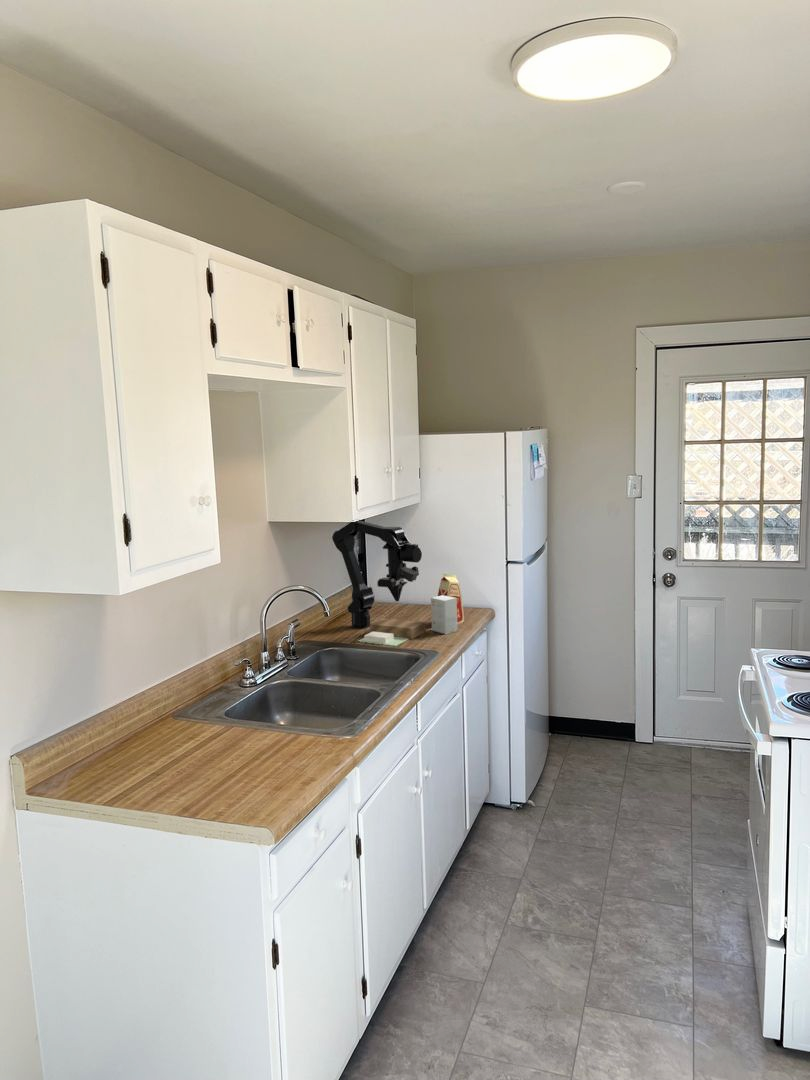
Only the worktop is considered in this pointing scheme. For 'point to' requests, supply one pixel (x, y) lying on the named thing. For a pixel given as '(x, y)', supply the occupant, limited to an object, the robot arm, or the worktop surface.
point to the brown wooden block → (398, 627)
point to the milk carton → (452, 593)
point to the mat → (393, 642)
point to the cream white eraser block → (378, 637)
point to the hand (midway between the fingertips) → (397, 601)
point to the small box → (444, 614)
